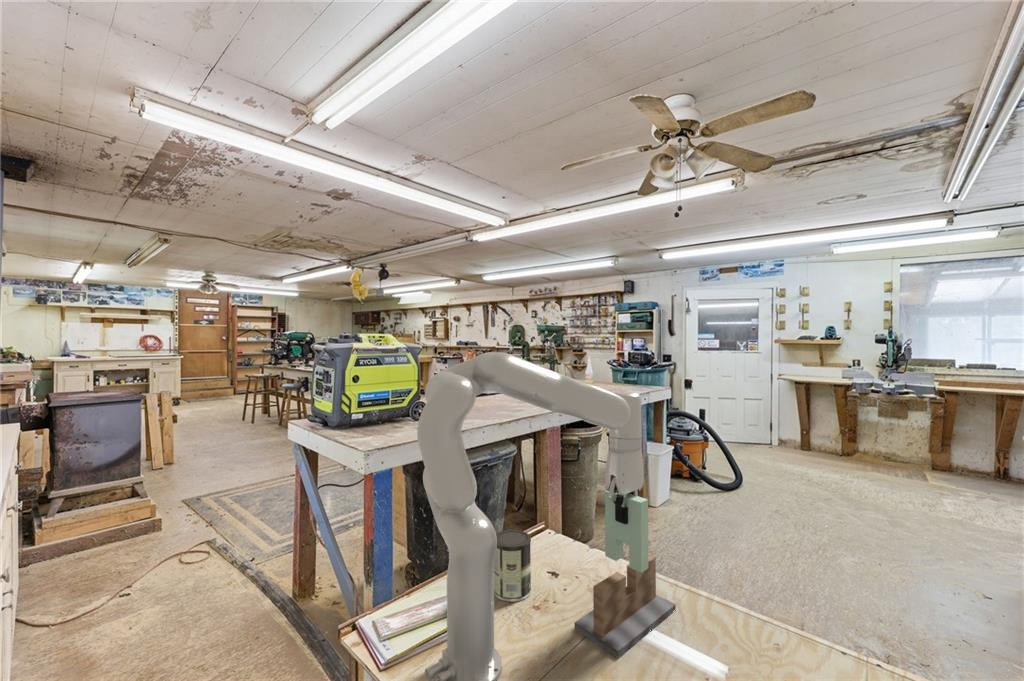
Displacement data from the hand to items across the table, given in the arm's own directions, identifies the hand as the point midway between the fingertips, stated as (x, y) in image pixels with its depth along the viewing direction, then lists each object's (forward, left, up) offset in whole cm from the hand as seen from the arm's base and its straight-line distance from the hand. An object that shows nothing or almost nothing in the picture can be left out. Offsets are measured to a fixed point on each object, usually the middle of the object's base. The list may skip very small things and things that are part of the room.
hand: (626, 519), depth 100 cm
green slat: (0, 0, -10) cm, 10 cm away
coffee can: (-13, +27, -24) cm, 38 cm away
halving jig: (0, 0, -24) cm, 24 cm away
